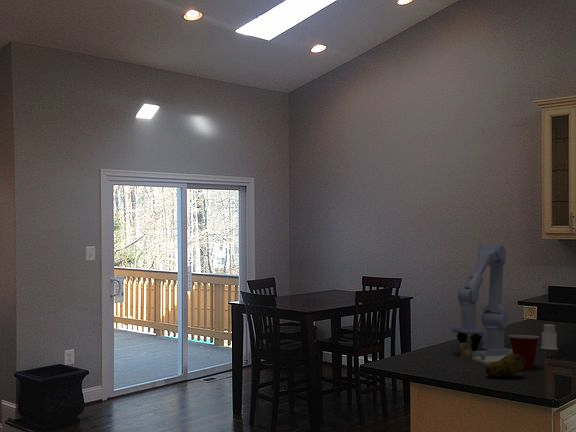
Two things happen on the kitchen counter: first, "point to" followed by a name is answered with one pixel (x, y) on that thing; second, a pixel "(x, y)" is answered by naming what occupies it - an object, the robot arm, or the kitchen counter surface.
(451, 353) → the kitchen counter surface
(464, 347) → the brown tapered block
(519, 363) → the potato
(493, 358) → the board
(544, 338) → the white threaded pipe fitting
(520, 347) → the plastic cup
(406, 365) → the kitchen counter surface
